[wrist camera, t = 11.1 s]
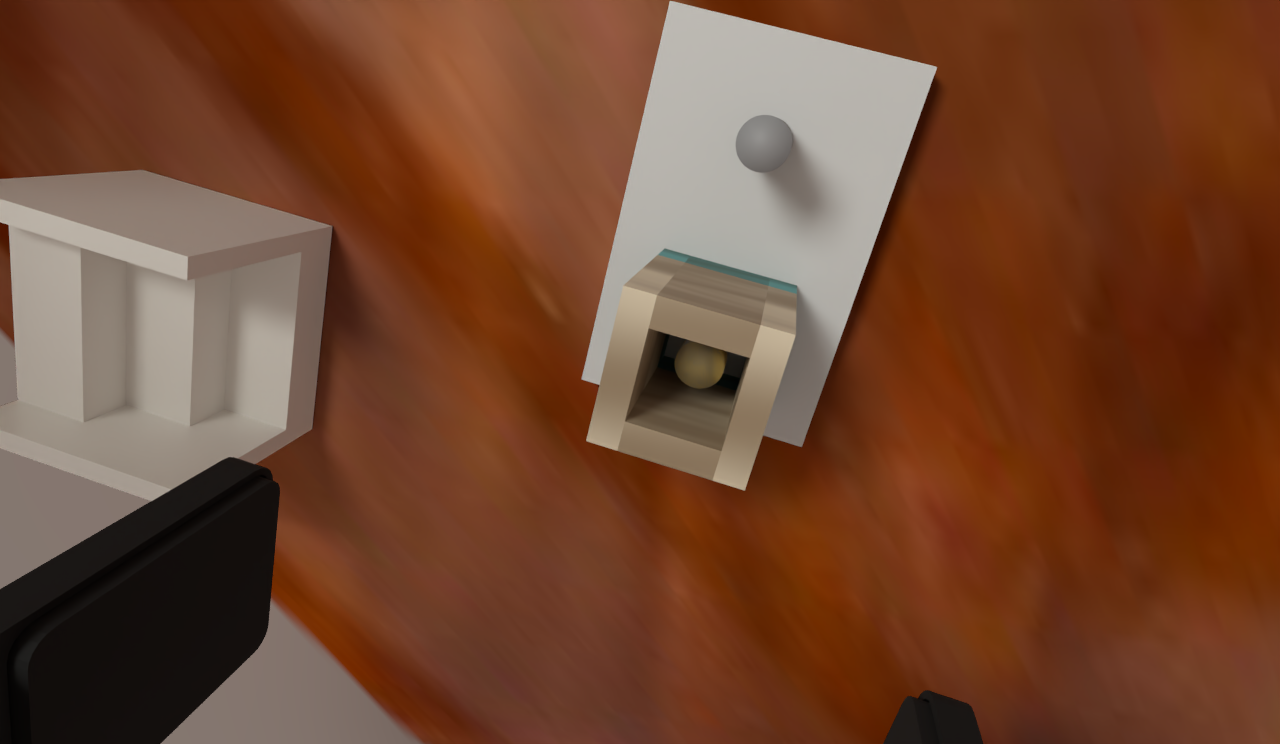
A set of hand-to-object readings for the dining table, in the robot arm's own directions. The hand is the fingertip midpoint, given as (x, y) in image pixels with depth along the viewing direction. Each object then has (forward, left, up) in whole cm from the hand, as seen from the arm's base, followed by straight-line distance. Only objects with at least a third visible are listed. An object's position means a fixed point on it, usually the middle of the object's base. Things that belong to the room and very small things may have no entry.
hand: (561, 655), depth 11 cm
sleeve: (0, 0, -19) cm, 19 cm away
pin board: (0, +3, -20) cm, 20 cm away
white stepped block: (-21, -6, -20) cm, 30 cm away
